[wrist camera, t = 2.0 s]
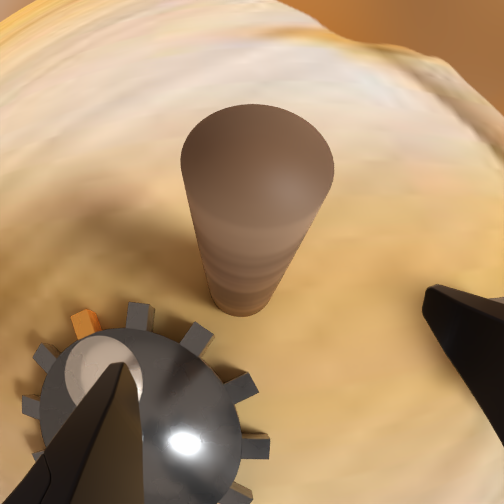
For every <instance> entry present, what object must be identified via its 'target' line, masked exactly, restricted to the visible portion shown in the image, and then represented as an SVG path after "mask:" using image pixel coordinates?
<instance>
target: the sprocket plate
mask: <svg viewBox="0 0 504 504" xmlns="http://www.w3.org/2000/svg"><path fill="white" fill-rule="evenodd" d="M154 313H155V309H154V308H153V307H152V306H151V305H149V304H142V303H133V302H129V304H128V312H127V320H126V328H116V329H107V330H102V329H101V326H100V324H99V321H98V318H97V315H96V313H94V312H92V311H90V310H88V309H85V310H83V311H81V312H79V313H77V314H75V315H72V316H70V317H71V320H72V324H73V327H74V330H75V333H76V336H77V339H78V340H77V341H75V342H74V343H73V344H72V345H70V346H69V347H68V348H66V349H65V350H64V351H63V352H62V353H60V352H59V351H58V350H57V349H56V348H55V347H54V346H53V345H50V344H45V343H41V344H40V346H39V348H38V349H37V351H36V353H35V354H34V356H33V359H34V360H35V361H36V362H37V363H38V364H39V365H40V366H41V367H42V369H43V370H44V371H45V372H46V373H47V376H46V378H45V381H44V384H43V387H42V392H41V397H39V396H36V395H22V413H23V414H25V415H28V416H30V417H33V418H36V419H38V420H40V426H41V431H42V436H43V439H44V443H45V446H46V447H47V446H48V445H49V443H50V442H51V440H52V439H53V438H54V436H55V435H56V434H57V432H58V431H59V430H60V428H61V427H62V425H63V424H64V423H65V421H66V420H67V419H68V417H69V416H70V415H71V413H72V412H73V411H74V409H75V408H76V407H77V405H78V404H79V403H80V402H81V400H82V399H83V398H84V396H85V395H86V394H87V392H88V391H89V390H90V389H91V387H92V386H93V385H94V383H95V382H96V381H97V379H98V378H99V377H100V376H101V374H102V373H103V372H104V371H105V369H106V368H107V367H108V365H109V364H111V363H116V362H125V363H126V365H127V366H128V368H129V370H130V372H131V374H132V376H133V378H134V380H135V382H136V384H137V389H138V400H139V410H140V420H141V429H142V442H143V485H144V504H217V503H220V504H250V503H251V502H252V500H253V495H252V490H250V489H247V488H245V487H243V486H241V485H240V484H238V483H236V482H234V479H235V477H236V475H237V472H238V468H239V465H240V460H241V459H269V451H270V438H269V436H268V434H253V433H241V428H240V422H239V417H238V414H237V410H236V407H235V404H236V403H238V402H240V401H242V400H245V399H247V398H249V397H251V396H253V395H255V394H257V393H259V391H258V389H257V387H256V386H255V384H254V382H253V380H252V378H251V376H250V374H249V373H248V372H246V373H244V374H242V375H240V376H238V377H236V378H234V379H232V380H229V381H227V382H225V383H223V382H222V380H221V379H220V378H219V376H218V375H217V374H216V373H215V371H214V370H213V369H212V368H211V367H210V366H209V365H208V364H207V363H206V362H205V361H204V360H203V359H201V356H202V355H203V353H204V352H205V351H206V349H207V348H208V346H209V345H210V343H211V342H212V340H213V339H214V337H215V336H214V334H213V333H211V332H210V331H208V330H207V329H205V328H204V327H202V326H201V325H199V324H198V323H196V322H194V323H193V325H192V326H191V328H190V329H189V331H188V332H187V333H186V335H185V336H184V338H183V339H182V341H181V342H180V343H177V342H175V341H173V340H171V339H168V338H166V337H164V336H162V335H158V334H155V333H152V332H153V322H154ZM42 453H43V454H44V450H42V451H39V452H36V453H33V454H32V455H33V457H34V459H35V461H37V460H38V458H39V457H40V455H41V454H42Z"/></svg>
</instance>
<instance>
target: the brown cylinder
mask: <svg viewBox="0 0 504 504" xmlns="http://www.w3.org/2000/svg"><path fill="white" fill-rule="evenodd" d="M181 171H182V176H183V180H184V185H185V190H186V194H187V199H188V203H189V208H190V212H191V216H192V221H193V225H194V229H195V233H196V238H197V242H198V246H199V250H200V254H201V258H202V262H203V266H204V270H205V274H206V278H207V282H208V286H209V290H210V293H211V297H212V299H213V301H214V303H215V304H216V305H217V306H218V307H219V308H220V309H221V310H222V311H223V312H225V313H227V314H229V315H232V316H237V317H246V316H250V315H253V314H256V313H257V312H259V311H260V310H262V309H263V308H264V307H265V306H266V304H267V303H268V301H269V300H270V298H271V296H272V294H273V293H274V291H275V289H276V287H277V286H278V284H279V282H280V280H281V278H282V277H283V275H284V273H285V271H286V270H287V268H288V266H289V264H290V262H291V261H292V259H293V257H294V255H295V253H296V251H297V250H298V248H299V246H300V244H301V242H302V241H303V239H304V237H305V235H306V233H307V231H308V229H309V228H310V226H311V224H312V222H313V220H314V218H315V216H316V215H317V213H318V211H319V209H320V207H321V205H322V203H323V201H324V199H325V198H326V196H327V194H328V192H329V190H330V188H331V185H332V182H333V177H334V162H333V156H332V153H331V151H330V148H329V146H328V144H327V142H326V141H325V139H324V138H323V137H322V135H321V134H320V133H319V132H318V131H317V130H316V128H314V127H313V126H312V125H311V124H310V123H309V122H307V121H306V120H304V119H303V118H301V117H299V116H298V115H296V114H294V113H292V112H289V111H287V110H284V109H281V108H278V107H273V106H268V105H260V104H247V105H238V106H233V107H229V108H225V109H222V110H220V111H217V112H215V113H213V114H211V115H209V116H208V117H206V118H205V119H203V120H202V121H201V122H200V123H199V124H197V125H196V126H195V128H194V129H193V130H192V131H191V132H190V134H189V135H188V137H187V139H186V141H185V143H184V145H183V148H182V152H181Z"/></svg>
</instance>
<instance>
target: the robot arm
mask: <svg viewBox="0 0 504 504" xmlns="http://www.w3.org/2000/svg"><path fill="white" fill-rule="evenodd" d="M422 314H423V316H424V318H425V320H426V321H427V323H428V325H429V326H430V328H431V330H432V332H433V333H434V335H435V337H436V338H437V340H438V342H439V344H440V346H441V347H442V349H443V351H444V352H445V354H446V355H447V357H448V358H449V360H450V361H451V362H452V364H453V365H454V367H455V368H456V370H457V371H458V373H459V374H460V376H461V377H462V379H463V380H464V382H465V383H466V385H467V386H468V388H469V390H470V391H471V393H472V394H473V396H474V397H475V399H476V401H477V402H478V404H479V405H480V407H481V409H482V410H483V412H484V413H485V415H486V417H487V418H488V420H489V422H490V423H491V425H492V427H493V429H494V430H495V432H496V434H497V436H498V437H499V439H500V441H501V442H502V445H503V447H504V304H503V303H500V302H497V301H493V300H490V299H487V298H483V297H480V296H477V295H473V294H470V293H466V292H463V291H460V290H456V289H453V288H450V287H446V286H443V285H439V284H436V285H433V286H430V287H428V288H427V289H426V292H425V297H424V301H423V306H422ZM2 504H144V485H143V442H142V429H141V420H140V410H139V400H138V389H137V384H136V382H135V380H134V378H133V376H132V374H131V372H130V370H129V368H128V366H127V365H126V363H125V362H116V363H111V364H109V365H108V367H107V368H106V369H105V371H104V372H103V373H102V374H101V376H100V377H99V378H98V379H97V381H96V382H95V383H94V385H93V386H92V387H91V389H90V390H89V391H88V392H87V394H86V395H85V396H84V398H83V399H82V400H81V402H80V403H79V404H78V405H77V407H76V408H75V409H74V411H73V412H72V413H71V415H70V416H69V417H68V419H67V420H66V421H65V423H64V424H63V425H62V427H61V428H60V430H59V431H58V432H57V434H56V435H55V436H54V438H53V439H52V440H51V442H50V443H49V445H48V446H47V447H46V449H45V450H44V454H43V453H42V454H41V455H40V457H39V458H38V460H37V461H36V462H35V464H34V465H33V467H32V468H31V469H30V471H29V472H28V473H27V475H26V476H25V477H24V478H23V480H22V481H21V482H20V483H19V484H18V486H17V487H16V488H15V489H14V490H13V492H12V493H11V494H10V495H9V496H8V497H7V498H6V500H5V501H4V502H3V503H2Z"/></svg>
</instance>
